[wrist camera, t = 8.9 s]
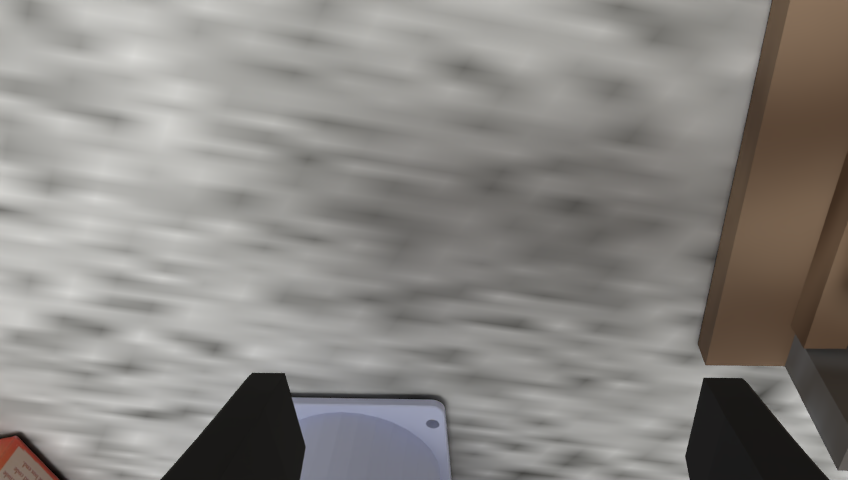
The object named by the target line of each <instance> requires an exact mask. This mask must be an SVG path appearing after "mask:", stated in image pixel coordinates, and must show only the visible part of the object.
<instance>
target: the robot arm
mask: <svg viewBox="0 0 848 480" xmlns="http://www.w3.org/2000/svg"><path fill="white" fill-rule="evenodd" d="M685 457H686V462H687V468H688V473H689V478H690V480H829V479H828V478H827V477H826V475H825V474H824V473H823V472H822V471H821V470H820V469H819V468H818V467H817V465H816V464H815V463H814V462H813V461H812V460H811V459H810V457H809V456H808V455H807V454H806V453H805V452H804V450H803V449H802V448H801V447H800V446H799V445H798V443H797V442H796V441H795V440H794V439H793V438H792V436H791V435H790V434H789V433H788V432H787V430H786V429H785V428H784V427H783V426H782V424H781V423H780V422H779V421H778V420H777V418H776V417H775V416H774V415H773V414H772V412H771V411H770V410H769V409H768V407H767V406H766V405H765V404H764V403H763V401H762V400H761V399H760V398H759V396H758V395H757V394H756V393H755V392H754V390H753V389H752V388H751V387H750V385H749V384H748V383H747V382H746V381H745V380H744V379H743V378H704V379H703V383H702V387H701V392H700V396H699V400H698V404H697V409H696V413H695V417H694V422H693V426H692V430H691V434H690V439H689V443H688V447H687V452H686V456H685ZM161 480H452V477H451V466H450V456H449V445H448V434H447V423H446V412H445V407H444V405H443V404H442V403H441V402H439V401H437V400H428V399H364V398H300V397H291V393H290V390H289V386H288V383H287V380H286V376H285V373H252V374H251V375H250V376H249V377H248V378H247V379H246V380H245V381H244V383H243V384H242V385H241V386H240V387H239V389H238V390H237V391H236V392H235V393H234V395H233V396H232V397H231V398H230V399H229V401H228V402H227V403H226V404H225V405H224V407H223V408H222V409H221V410H220V412H219V413H218V414H217V415H216V416H215V418H214V419H213V420H212V421H211V422H210V423H209V425H208V426H207V427H206V428H205V429H204V431H203V432H202V433H201V434H200V435H199V437H198V438H197V439H196V440H195V441H194V442H193V443H192V445H191V446H190V447H189V448H188V449H187V450H186V451H185V453H184V454H183V455H182V456H181V457H180V458H179V459H178V461H177V462H176V463H175V464H174V465H173V466H172V467H171V469H170V470H169V471H168V472H167V473H166V474H165V475H164V476H163V477H162V479H161Z"/></svg>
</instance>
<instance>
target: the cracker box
mask: <svg viewBox="0 0 848 480" xmlns="http://www.w3.org/2000/svg"><path fill="white" fill-rule="evenodd" d="M0 480H59V478H58V477H57V476H56V475H54V474H53V473H52V472H51V471H50V469H49V468H48V467H47V466H46V465H45V464H44V463H43V462H42V461H41V460H40V459H39V458H38V457H37V456H36V455H35V454H34V453H33V452H32V451H31V450H30V449H29V448H28V447H27V446H26V445H25V444H24V443H23V441H22V440H21V439H20V438H19V437H18V436H13V437H8V438H2V439H0Z"/></svg>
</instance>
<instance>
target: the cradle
mask: <svg viewBox="0 0 848 480" xmlns="http://www.w3.org/2000/svg"><path fill="white" fill-rule="evenodd" d="M698 346H699V349H700V351H701V354H702V357H703V360H704V362H705V365H741V366H785V367H786V369H787V371H788V373H789V375H790V377H791V379H792V381H793V383H794V385H795V387H796V389H797V391H798V393H799V395H800V397H801V399H802V401H803V403H804V405H805V407H806V409H807V411H808V413H809V415H810V417H811V419H812V420H813V422H814V424H815V426H816V428H817V430H818V432H819V434H820V436H821V438H822V440H823V442H824V444H825V446H826V448H827V450H828V452H829V454H830V456H831V458H832V460H833V462H834V464H835V466H836V468H837V470H845V471H848V0H772V5H771V10H770V14H769V19H768V24H767V28H766V33H765V37H764V42H763V47H762V51H761V56H760V60H759V65H758V70H757V74H756V79H755V83H754V88H753V93H752V97H751V102H750V106H749V111H748V116H747V120H746V125H745V129H744V134H743V139H742V143H741V148H740V152H739V157H738V162H737V166H736V171H735V175H734V180H733V185H732V189H731V194H730V198H729V203H728V208H727V212H726V217H725V222H724V226H723V231H722V235H721V240H720V245H719V249H718V254H717V258H716V263H715V268H714V272H713V277H712V281H711V286H710V291H709V295H708V300H707V304H706V309H705V314H704V318H703V323H702V327H701V332H700V337H699V341H698Z"/></svg>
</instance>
